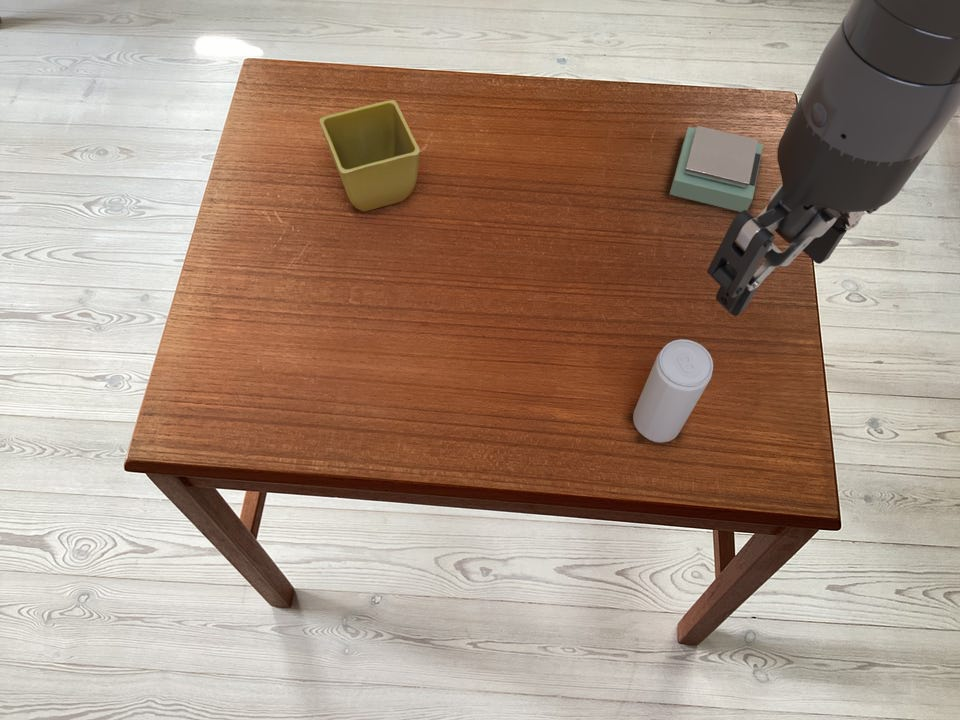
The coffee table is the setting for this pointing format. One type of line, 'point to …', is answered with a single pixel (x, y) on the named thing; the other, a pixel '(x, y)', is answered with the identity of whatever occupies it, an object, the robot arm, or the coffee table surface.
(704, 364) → the beverage can
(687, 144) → the scale
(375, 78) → the coffee table surface
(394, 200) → the flower pot
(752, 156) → the scale pan
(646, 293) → the coffee table surface
